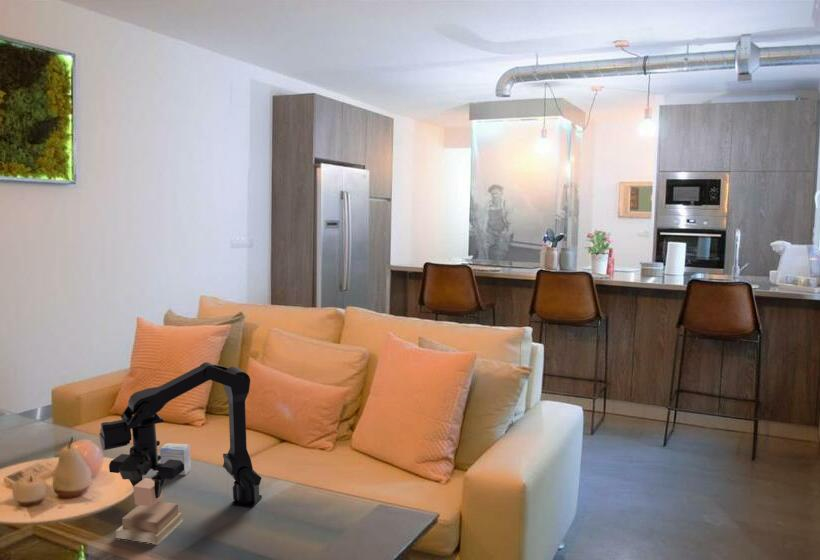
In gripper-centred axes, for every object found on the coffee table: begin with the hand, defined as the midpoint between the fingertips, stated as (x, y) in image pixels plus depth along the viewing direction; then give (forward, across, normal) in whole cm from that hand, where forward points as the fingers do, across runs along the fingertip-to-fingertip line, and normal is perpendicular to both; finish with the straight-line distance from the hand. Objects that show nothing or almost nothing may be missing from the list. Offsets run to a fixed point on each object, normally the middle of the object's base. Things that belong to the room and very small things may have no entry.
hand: (148, 496), depth 182 cm
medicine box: (+10, -12, +32) cm, 35 cm away
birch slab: (+10, 0, 0) cm, 10 cm away
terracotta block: (+1, 0, 0) cm, 1 cm away
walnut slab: (+7, 0, 0) cm, 7 cm away
